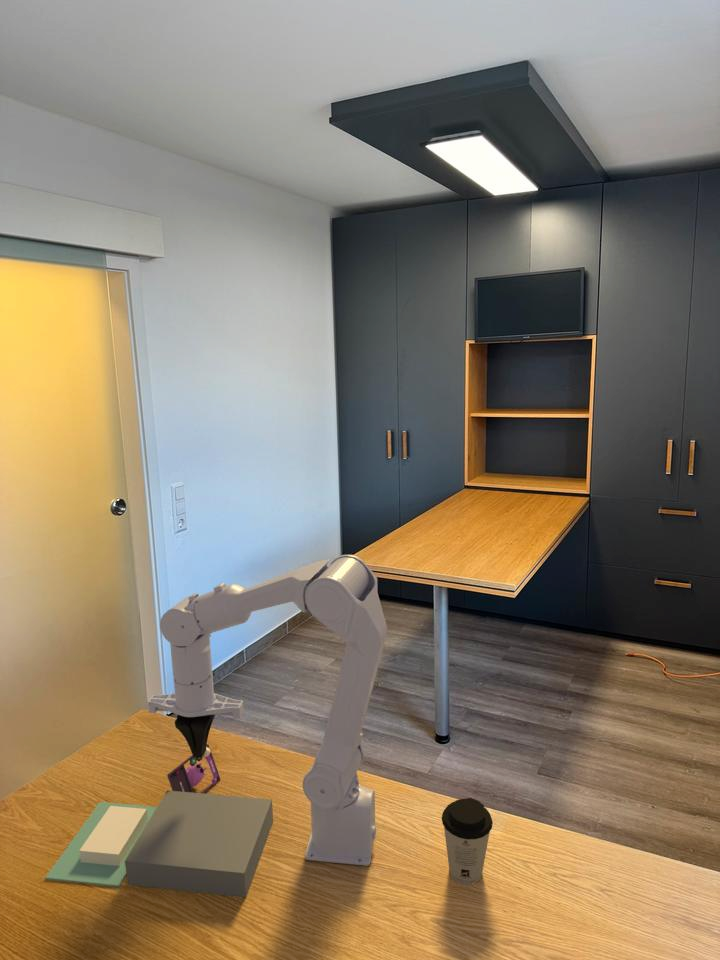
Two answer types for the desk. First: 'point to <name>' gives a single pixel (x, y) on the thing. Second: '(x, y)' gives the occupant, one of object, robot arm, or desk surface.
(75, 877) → the mat
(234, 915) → the desk surface
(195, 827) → the plate
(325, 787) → the robot arm
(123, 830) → the beige rectangular block
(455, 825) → the coffee cup
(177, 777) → the game card
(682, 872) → the desk surface
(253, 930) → the desk surface
